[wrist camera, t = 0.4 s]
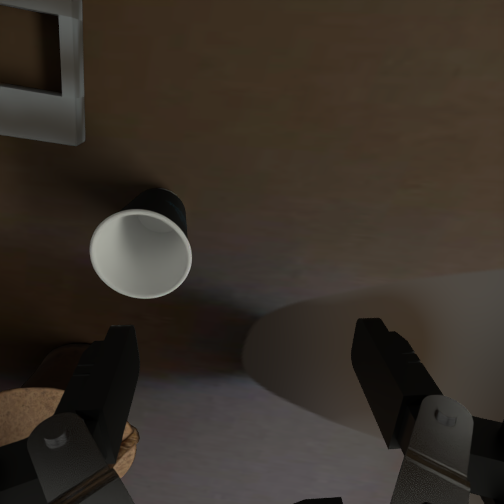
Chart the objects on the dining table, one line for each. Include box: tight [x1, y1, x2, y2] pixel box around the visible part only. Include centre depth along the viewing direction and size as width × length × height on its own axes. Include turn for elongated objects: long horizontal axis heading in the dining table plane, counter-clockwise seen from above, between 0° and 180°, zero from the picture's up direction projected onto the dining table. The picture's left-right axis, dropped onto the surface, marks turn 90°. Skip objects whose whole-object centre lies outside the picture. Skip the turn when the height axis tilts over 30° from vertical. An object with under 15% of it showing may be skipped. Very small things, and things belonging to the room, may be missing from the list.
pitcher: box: [0, 344, 140, 478], centre depth 36 cm, size 18×17×28 cm
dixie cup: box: [90, 188, 192, 298], centre depth 34 cm, size 8×8×11 cm
